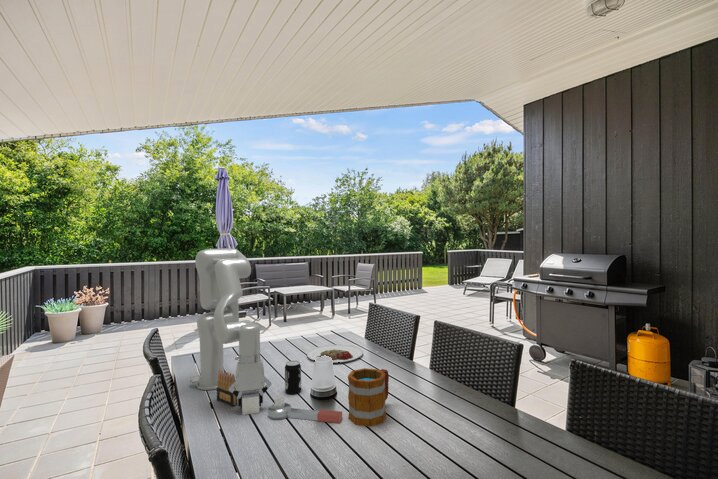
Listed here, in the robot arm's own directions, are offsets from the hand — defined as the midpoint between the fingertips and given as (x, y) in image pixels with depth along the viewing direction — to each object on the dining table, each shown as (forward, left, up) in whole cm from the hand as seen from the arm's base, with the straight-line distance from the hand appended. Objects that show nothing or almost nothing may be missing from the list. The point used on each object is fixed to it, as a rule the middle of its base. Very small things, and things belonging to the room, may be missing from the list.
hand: (250, 405), depth 141 cm
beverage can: (+17, +12, -2) cm, 21 cm away
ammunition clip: (-9, +10, -2) cm, 14 cm away
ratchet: (+18, -12, -2) cm, 22 cm away
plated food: (+44, +53, -2) cm, 69 cm away
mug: (+42, -17, -2) cm, 45 cm away
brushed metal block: (0, 0, -2) cm, 2 cm away
